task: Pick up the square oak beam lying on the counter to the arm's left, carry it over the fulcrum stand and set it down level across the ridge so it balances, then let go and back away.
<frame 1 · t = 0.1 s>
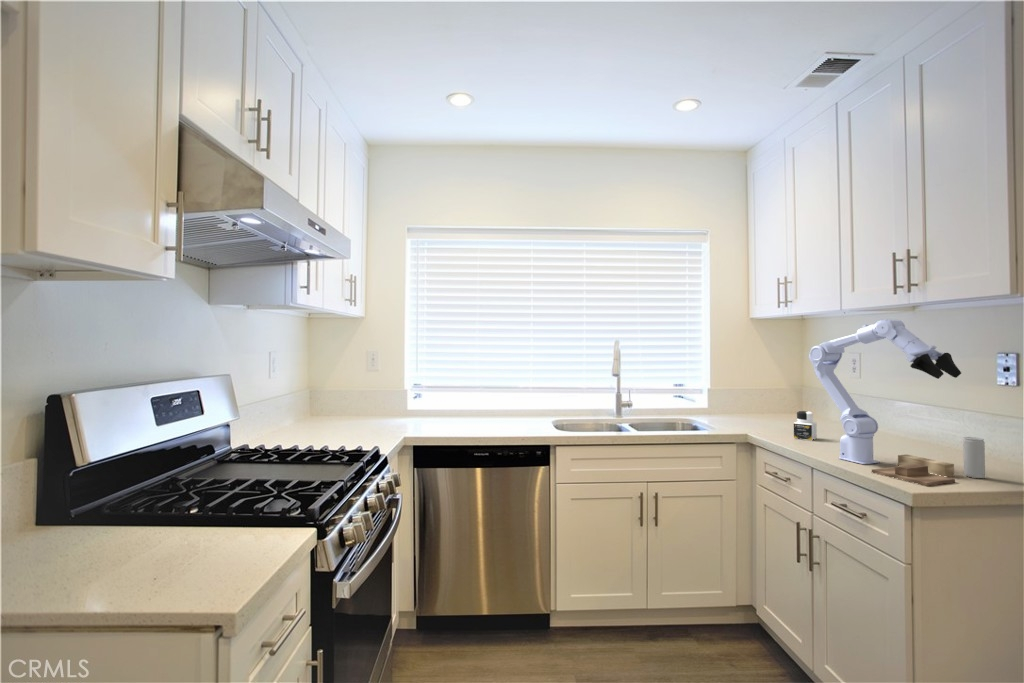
hand: (949, 375, 144), 32 cm above the countertop, tool tilted 50°, fingers open, 7 cm apart
beam: (925, 471, 157), on the countertop
medicine bottle: (805, 439, 212), on the countertop
beverage can: (974, 477, 149), on the countertop
fulcrum: (911, 477, 150), on the countertop
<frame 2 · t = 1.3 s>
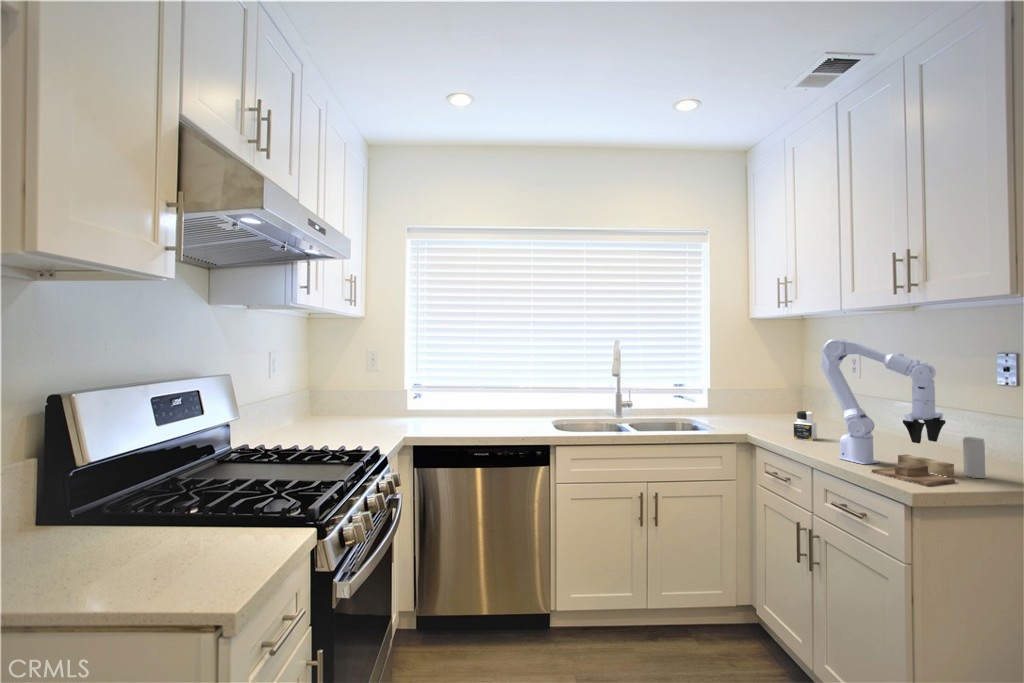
hand: (924, 441, 157), 9 cm above the countertop, tool pointing down, fingers open, 7 cm apart
nothing on the countertop moved.
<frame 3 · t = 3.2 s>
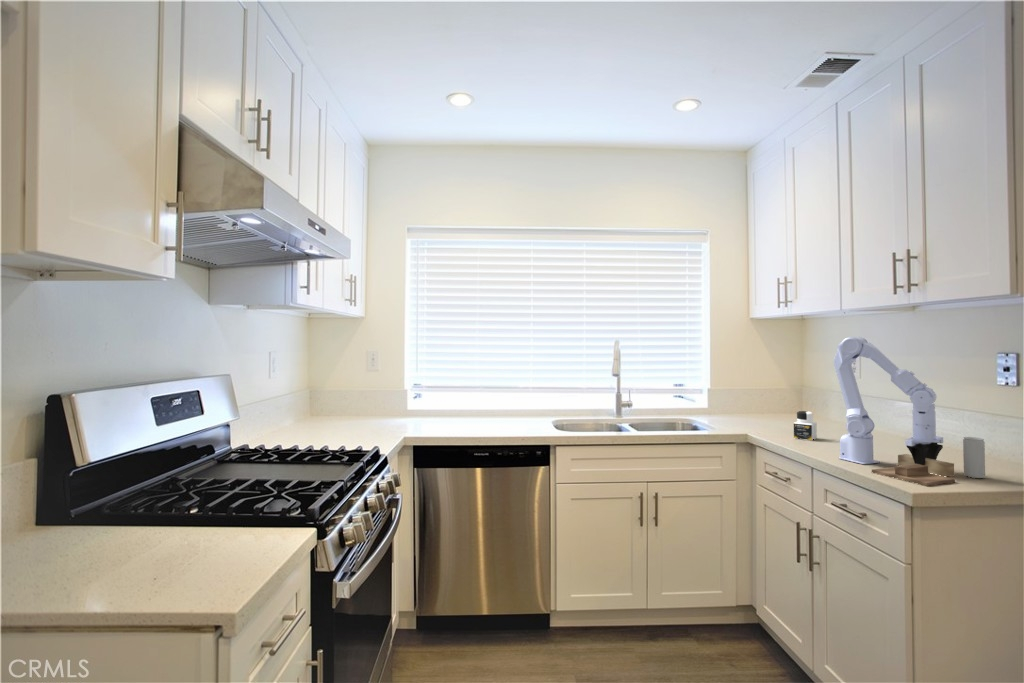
hand: (924, 466, 157), 1 cm above the countertop, tool pointing down, fingers closed on beam, 4 cm apart
beam: (925, 471, 157), on the countertop, touching gripper
everything else where it was.
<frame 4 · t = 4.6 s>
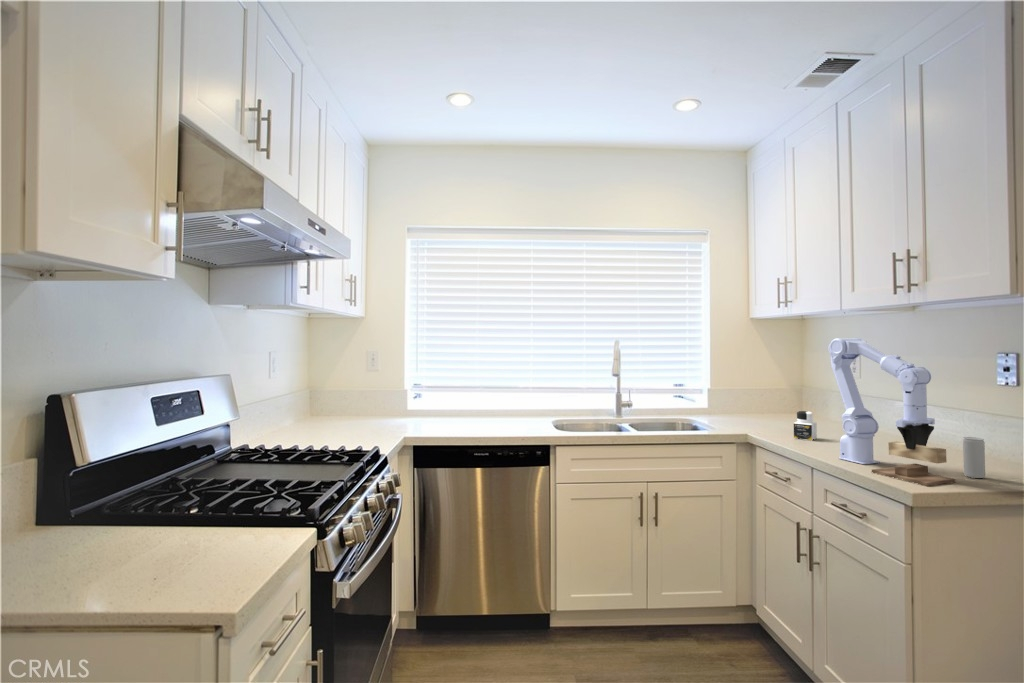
hand: (915, 448, 152), 8 cm above the countertop, tool pointing down, fingers closed on beam, 4 cm apart
beam: (916, 458, 152), point 5 cm above the countertop, touching gripper
everything else where it was.
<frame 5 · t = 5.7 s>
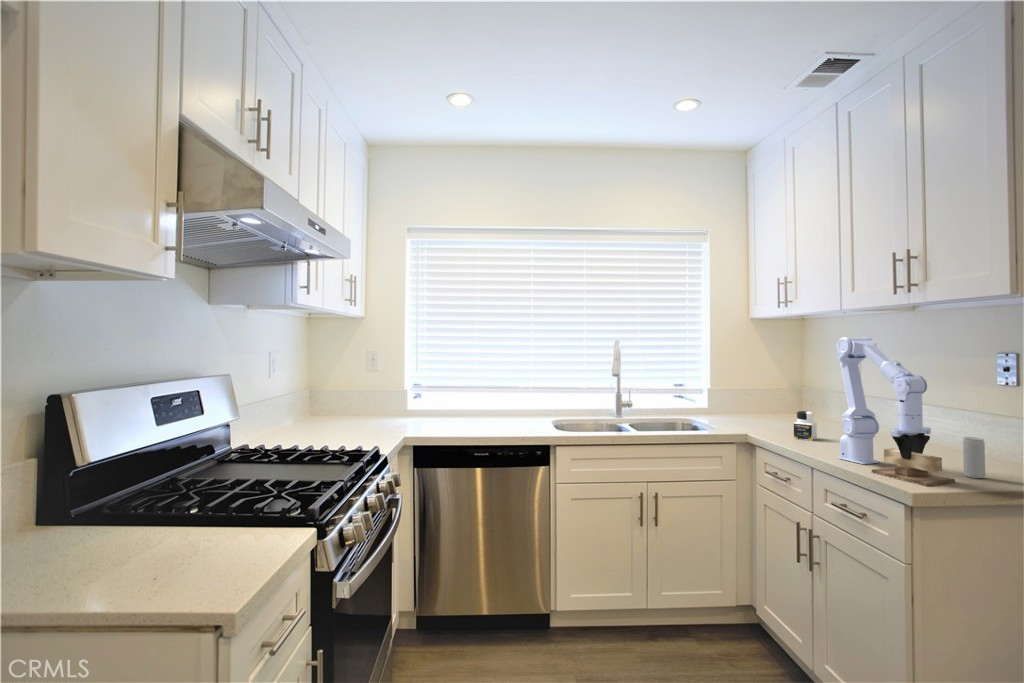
hand: (911, 458, 150), 6 cm above the countertop, tool pointing down, fingers closed on beam, 4 cm apart
beam: (911, 466, 150), point 3 cm above the countertop, touching fulcrum, gripper
everything else where it was.
when the fingers open (6 cm above the countertop, at t = 6.2 s): beam stays where it is, resting on fulcrum.
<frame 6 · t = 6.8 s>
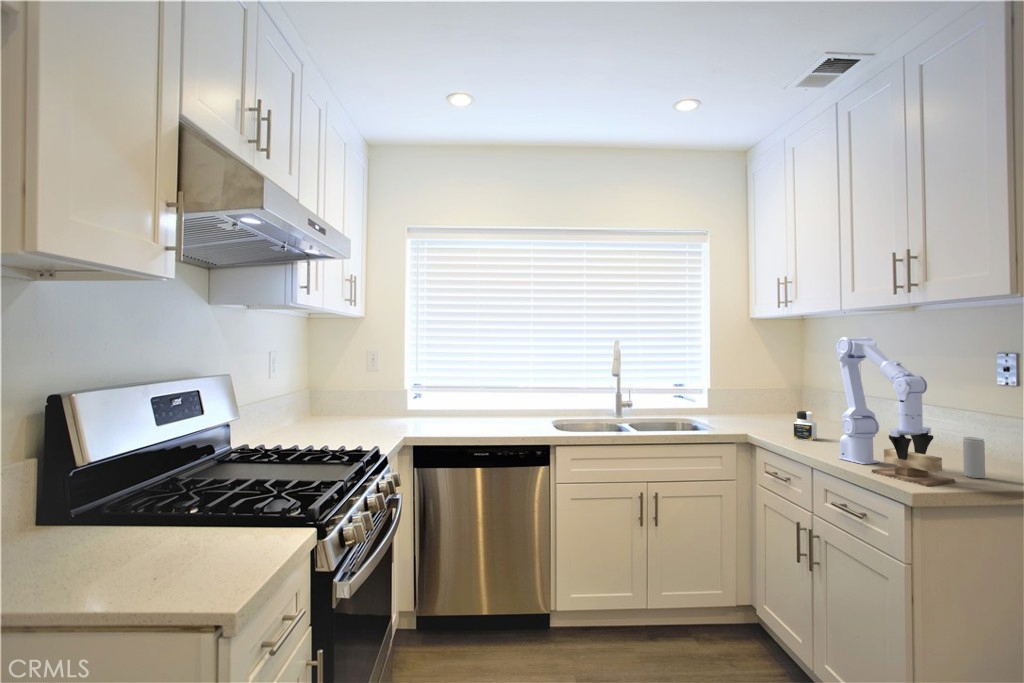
hand: (911, 458, 150), 6 cm above the countertop, tool pointing down, fingers open, 7 cm apart
beam: (911, 466, 150), point 3 cm above the countertop, touching fulcrum
everything else where it was.
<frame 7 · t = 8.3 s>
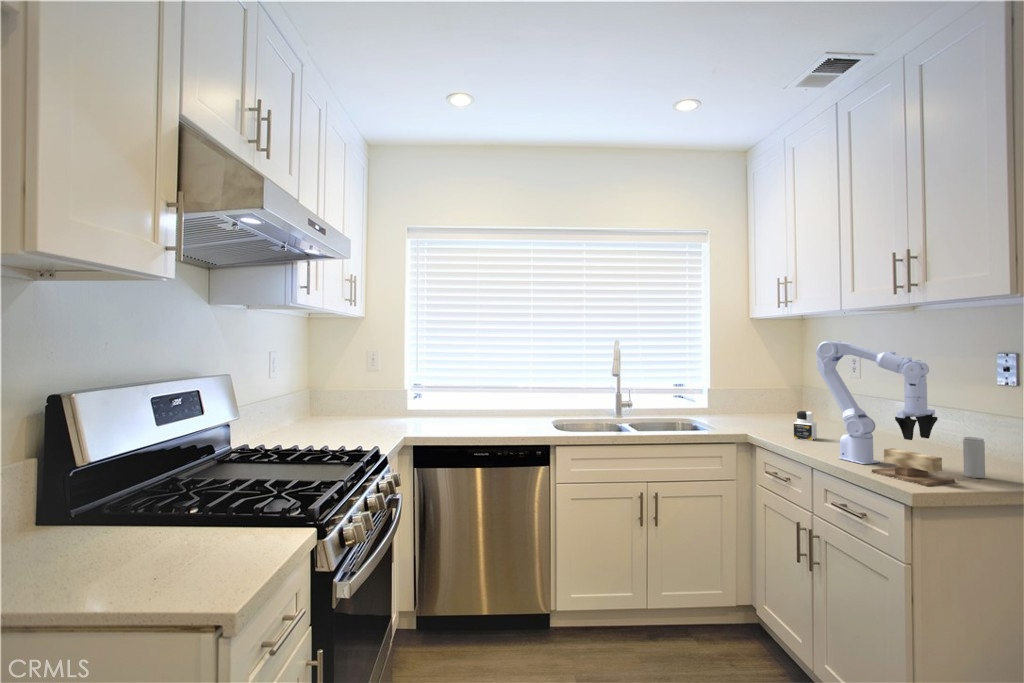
hand: (916, 438, 158), 10 cm above the countertop, tool pointing down, fingers open, 7 cm apart
nothing on the countertop moved.
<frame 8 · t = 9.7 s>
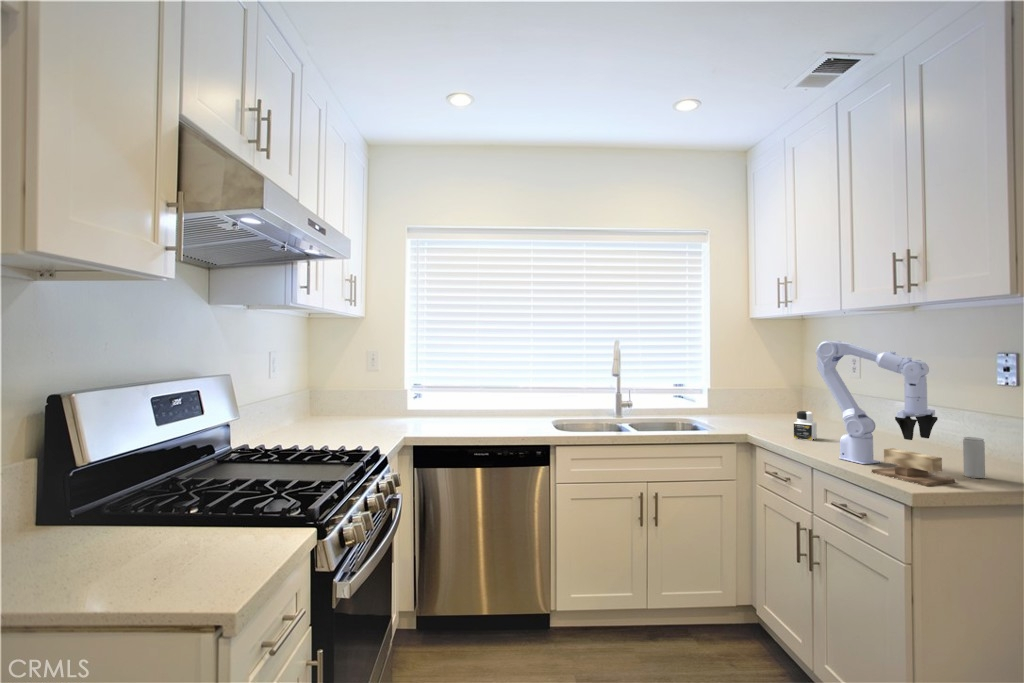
hand: (916, 438, 158), 10 cm above the countertop, tool pointing down, fingers open, 7 cm apart
nothing on the countertop moved.
at the end: beam 0.1 cm off-centre on the fulcrum, point 3.5 cm above the fulcrum's base; beam tilted 0°; the gripper is holding nothing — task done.
